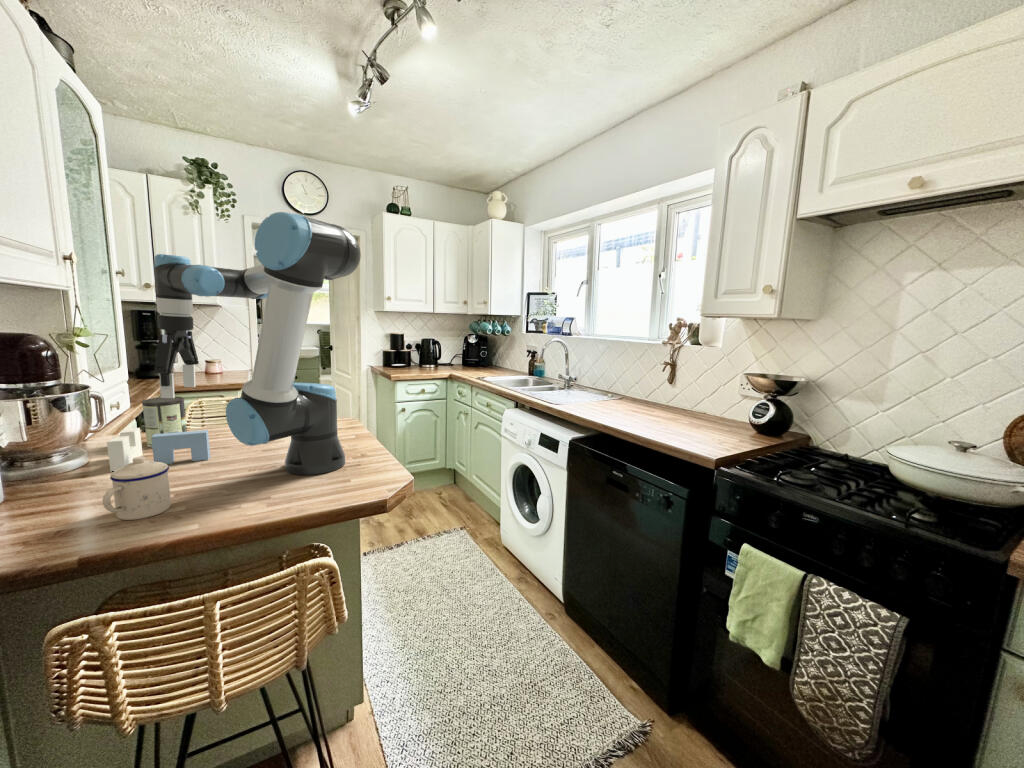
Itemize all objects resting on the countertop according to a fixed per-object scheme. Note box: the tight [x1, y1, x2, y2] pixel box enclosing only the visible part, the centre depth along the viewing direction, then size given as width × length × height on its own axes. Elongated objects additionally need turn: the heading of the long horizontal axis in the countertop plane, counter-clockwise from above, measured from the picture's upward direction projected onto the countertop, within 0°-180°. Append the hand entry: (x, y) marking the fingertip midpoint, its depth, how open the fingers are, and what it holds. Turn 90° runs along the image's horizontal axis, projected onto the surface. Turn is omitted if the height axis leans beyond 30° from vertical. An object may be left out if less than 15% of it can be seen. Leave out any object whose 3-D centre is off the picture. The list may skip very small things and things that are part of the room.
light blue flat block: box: [151, 429, 211, 465], centre depth 117 cm, size 3×12×8 cm, turn 117°
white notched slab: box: [106, 427, 144, 473], centre depth 115 cm, size 14×3×8 cm, turn 27°
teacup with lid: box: [102, 455, 172, 521], centre depth 86 cm, size 12×9×12 cm
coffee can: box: [141, 396, 188, 448], centre depth 132 cm, size 10×10×14 cm
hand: (179, 392), depth 117 cm, fingers open, 13 cm apart
